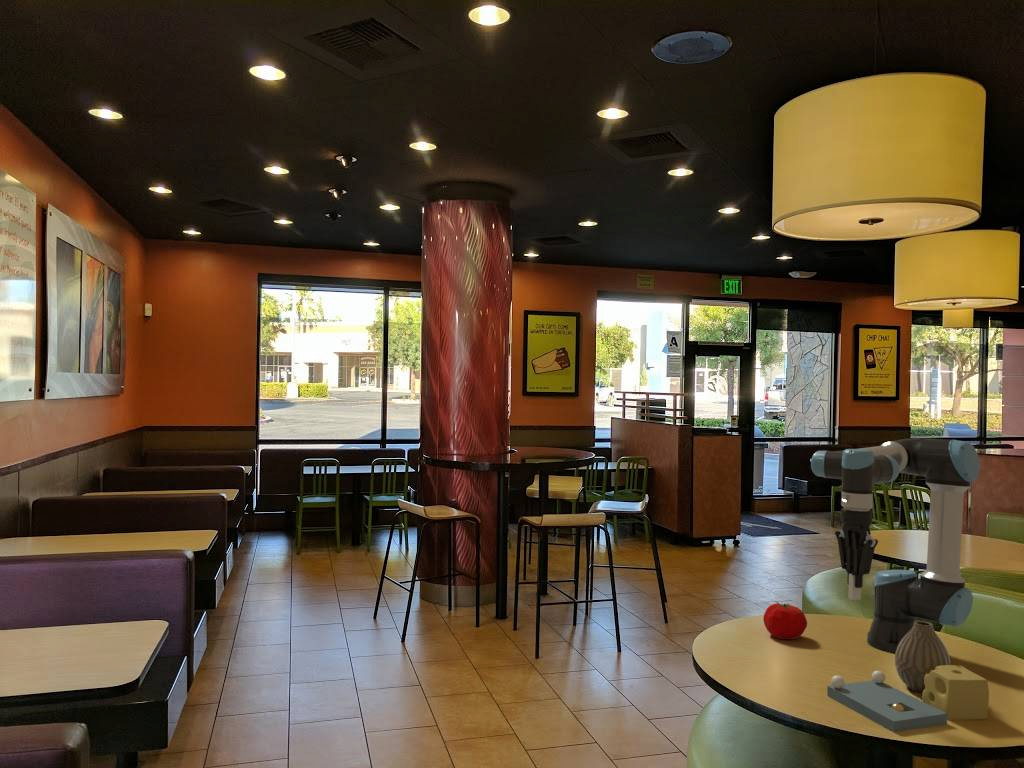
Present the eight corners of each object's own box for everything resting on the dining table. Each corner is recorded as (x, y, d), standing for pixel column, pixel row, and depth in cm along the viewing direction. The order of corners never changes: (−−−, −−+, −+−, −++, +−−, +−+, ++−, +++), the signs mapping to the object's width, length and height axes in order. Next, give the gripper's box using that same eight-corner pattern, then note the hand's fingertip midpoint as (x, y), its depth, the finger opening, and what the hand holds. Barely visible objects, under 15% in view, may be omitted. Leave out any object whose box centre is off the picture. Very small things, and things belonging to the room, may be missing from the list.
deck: (877, 689, 208) (877, 679, 208) (947, 724, 187) (947, 713, 187) (827, 695, 203) (827, 685, 203) (893, 732, 182) (893, 721, 182)
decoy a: (878, 680, 208) (878, 668, 208) (888, 684, 205) (888, 672, 205) (868, 681, 207) (869, 669, 207) (878, 686, 204) (878, 673, 204)
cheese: (921, 703, 199) (922, 664, 199) (961, 703, 200) (962, 664, 200) (947, 721, 189) (948, 680, 189) (990, 721, 190) (991, 679, 190)
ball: (900, 699, 192) (909, 709, 189) (896, 709, 193) (905, 719, 190) (889, 700, 191) (899, 710, 188) (885, 710, 192) (895, 720, 190)
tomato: (755, 635, 251) (756, 602, 251) (775, 628, 259) (775, 595, 259) (794, 646, 241) (795, 612, 241) (814, 638, 249) (814, 604, 249)
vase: (956, 689, 209) (958, 623, 209) (941, 703, 200) (942, 634, 200) (904, 675, 218) (905, 612, 218) (886, 688, 209) (888, 622, 209)
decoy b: (838, 685, 204) (838, 672, 204) (847, 689, 201) (847, 677, 201) (828, 686, 203) (828, 674, 203) (837, 691, 200) (837, 678, 200)
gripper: (827, 505, 210) (825, 593, 210) (863, 513, 198) (861, 606, 198) (850, 504, 213) (848, 591, 213) (887, 512, 200) (885, 604, 200)
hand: (854, 598), depth 205 cm, fingers closed
